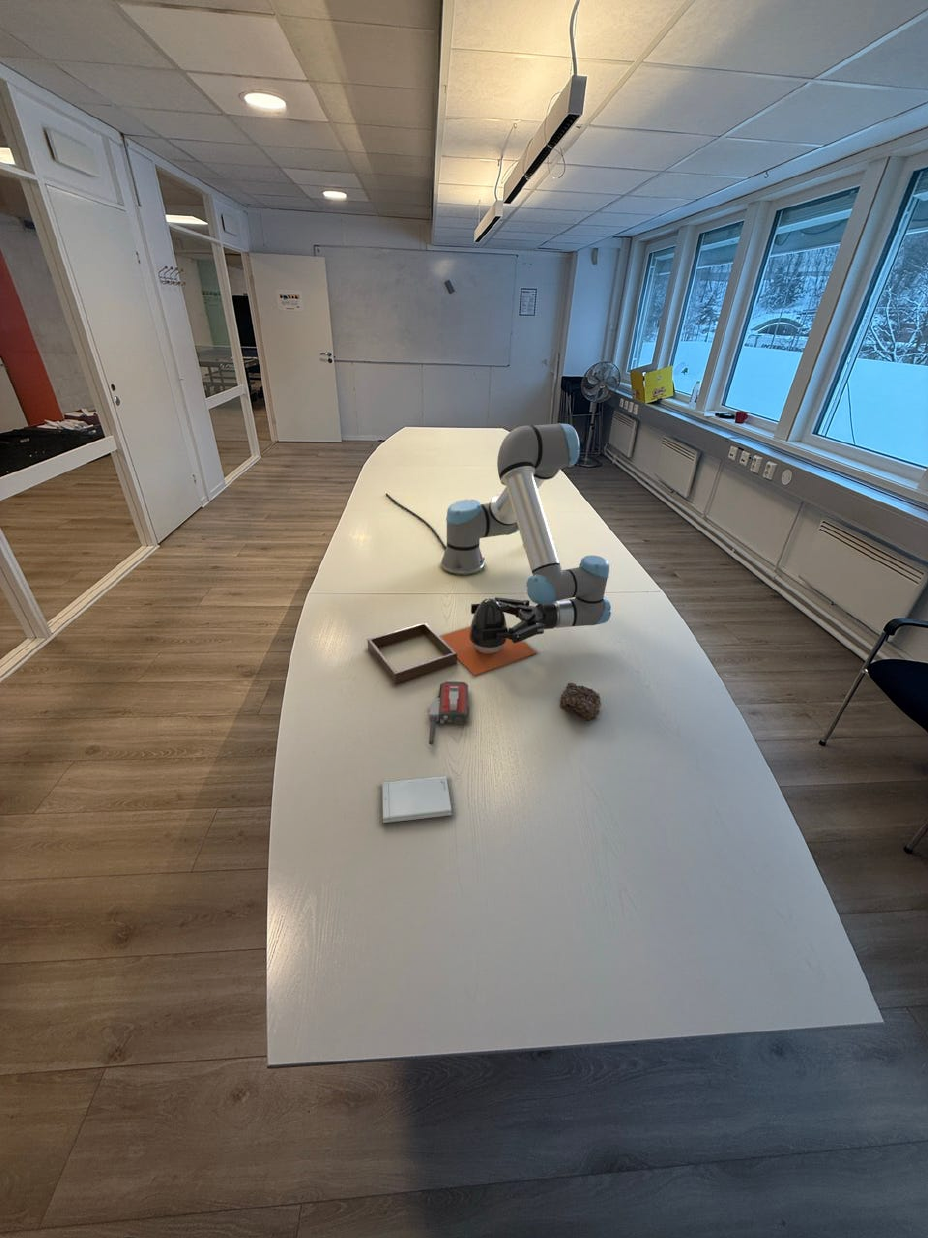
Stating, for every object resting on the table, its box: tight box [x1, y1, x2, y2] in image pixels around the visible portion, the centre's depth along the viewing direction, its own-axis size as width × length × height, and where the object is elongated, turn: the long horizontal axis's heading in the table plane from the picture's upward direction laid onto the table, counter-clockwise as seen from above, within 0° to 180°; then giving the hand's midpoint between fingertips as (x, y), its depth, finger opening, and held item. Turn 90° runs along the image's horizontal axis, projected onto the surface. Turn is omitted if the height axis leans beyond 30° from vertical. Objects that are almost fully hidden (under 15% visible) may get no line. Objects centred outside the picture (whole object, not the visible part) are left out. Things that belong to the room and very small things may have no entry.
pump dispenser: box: [469, 597, 510, 654], centre depth 133 cm, size 10×10×15 cm
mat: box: [439, 626, 537, 677], centre depth 138 cm, size 20×20×1 cm
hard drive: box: [381, 775, 453, 824], centre depth 94 cm, size 2×8×12 cm
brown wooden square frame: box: [366, 621, 458, 686], centre depth 132 cm, size 18×18×4 cm
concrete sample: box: [559, 682, 602, 722], centre depth 116 cm, size 12×10×5 cm
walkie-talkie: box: [428, 680, 469, 746], centre depth 113 cm, size 9×4×20 cm
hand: (476, 621), depth 132 cm, fingers open, 12 cm apart
